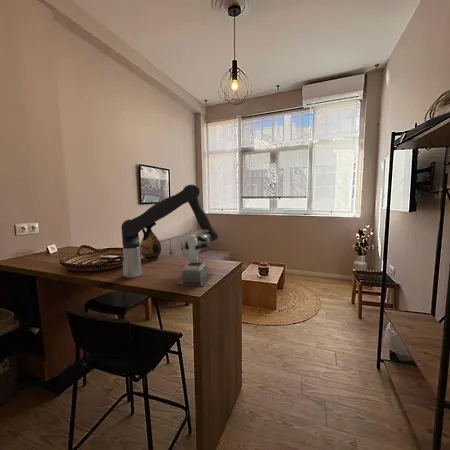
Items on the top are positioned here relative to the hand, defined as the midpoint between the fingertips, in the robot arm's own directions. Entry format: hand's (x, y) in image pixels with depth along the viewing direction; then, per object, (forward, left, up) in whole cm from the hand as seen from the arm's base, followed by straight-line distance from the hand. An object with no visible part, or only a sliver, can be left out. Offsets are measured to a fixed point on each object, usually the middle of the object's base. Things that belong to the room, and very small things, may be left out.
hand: (191, 247), depth 132 cm
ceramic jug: (-50, +41, -19) cm, 67 cm away
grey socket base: (0, +3, -19) cm, 19 cm away
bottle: (0, +3, -7) cm, 7 cm away
